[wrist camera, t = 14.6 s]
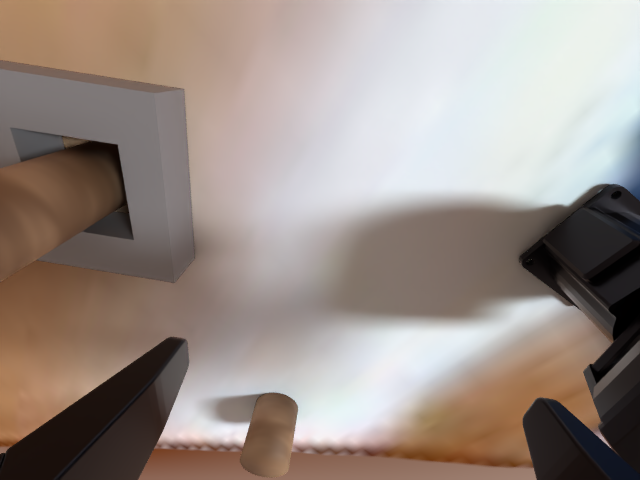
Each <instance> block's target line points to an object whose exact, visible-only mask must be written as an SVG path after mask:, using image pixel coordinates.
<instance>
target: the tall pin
mask: <svg viewBox="0 0 640 480" xmlns="http://www.w3.org/2000/svg"><path fill="white" fill-rule="evenodd" d="M127 203H128V202H127V196H126V190H125V184H124V178H123V172H122V167H121V161H120V155H119V149H118V144H111V143H105V142H99V141H91V142H88V143H84V144H81V145H78V146H74V147H71V148H67V149H64V150H61V151H57V152H54V153H51V154H47V155H44V156H40V157H37V158H34V159H30V160H27V161H24V162H20V163H17V164H13V165H10V166H7V167H3V168H0V282H1V281H3V280H5V279H6V278H8V277H9V276H11V275H13V274H14V273H16V272H17V271H19V270H21V269H22V268H24V267H26V266H27V265H29V264H30V263H32V262H34V261H35V260H37V259H38V258H40V257H42V256H43V255H45V254H46V253H48V252H50V251H51V250H53V249H54V248H56V247H58V246H59V245H61V244H62V243H64V242H66V241H67V240H69V239H71V238H72V237H74V236H75V235H77V234H79V233H80V232H82V231H83V230H85V229H87V228H88V227H90V226H91V225H93V224H95V223H96V222H98V221H99V220H101V219H103V218H104V217H106V216H107V215H109V214H111V213H112V212H114V211H116V210H117V209H119V208H120V207H122V206H124V205H125V204H127Z"/></svg>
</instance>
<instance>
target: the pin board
mask: <svg viewBox="0 0 640 480" xmlns="http://www.w3.org/2000/svg"><path fill="white" fill-rule="evenodd" d="M62 136H67V137H74V138H80V139H86V140H92V141H99V142H105V143H111V144H118V149H119V155H120V161H121V167H122V172H123V178H124V184H125V190H126V196H127V202H128V208H129V214H127V213H121V212H112V213H111V214H109V215H107V216H106V217H104V218H103V219H101V220H99V221H98V222H96V223H95V224H93V225H91V226H90V227H88V228H87V229H85V230H83V231H82V232H80V233H79V234H77V235H75V236H74V237H72V238H71V239H69V240H67V241H66V242H64V243H62V244H61V245H59V246H58V247H56V248H54V249H53V250H51V251H50V252H48V253H46V254H45V255H43V256H42V257H40V258H38V259H37V260H38V261H44V262H50V263H56V264H63V265H69V266H75V267H81V268H87V269H93V270H99V271H105V272H111V273H117V274H123V275H129V276H135V277H141V278H148V279H154V280H160V281H166V282H172V283H175V282H176V280H177V279H178V278H179V277H180V276H181V274H182V273H183V272H184V271H185V269H186V268H187V267H188V266H189V265H190V263H191V262H192V261H193V260H194V258H195V252H194V237H193V221H192V206H191V190H190V175H189V159H188V144H187V128H186V113H185V97H184V89H180V88H174V87H167V86H161V85H155V84H148V83H142V82H136V81H129V80H123V79H117V78H110V77H104V76H98V75H91V74H85V73H79V72H72V71H66V70H59V69H53V68H47V67H40V66H34V65H28V64H21V63H15V62H9V61H2V60H0V168H3V167H7V166H10V165H13V164H17V163H20V162H24V161H27V160H30V159H34V158H37V157H40V156H44V155H47V154H51V153H54V152H57V151H61V150H64V149H65V148H64V144H63V140H62Z"/></svg>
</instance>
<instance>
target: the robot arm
mask: <svg viewBox="0 0 640 480" xmlns="http://www.w3.org/2000/svg"><path fill="white" fill-rule="evenodd" d="M615 191H616V194H615V195H614V196H612V197H611V195H612V193H613V192H615ZM529 259H532V260H531V261H529V262H527V260H529ZM519 262H520V263H521V265H522V266H523V267H524V268H525V269H527V270H528V271H529V272H531V273H532V274H533V275H535V276H536V277H537V278H539V279H540V280H541V281H543V282H544V283H545V284H547V285H548V286H549V287H550V288H552V289H553V290H554V291H556V292H557V293H558V294H560V295H561V296H562V297H564V298H565V299H566V300H568V301H569V302H570V303H572V304H573V305H574V306H576V307H577V308H578V309H580V310H581V311H582V312H583V313H584V314H585V315H586V316H587V317H588V318H589V319H590V320H591V321H592V322H593V323H594V324H595V325H596V327H597V328H598V329H599V330H600V331H601V332H602V333H603V334H604V335H605V336H606V337H607V338H608V339H609V340H610V342H611V343H612V344H611V345H610V346H609V347H608V348H607V349H606V351H605V352H604V353H603V354H602V355H601V356H600V357H599V358H598V359H597V360H596V361H595V362H594V364H589V365H588V367H587V368H586V369H585V370H584V371H583V373H584V376H585V379H586V381H587V384H588V387H589V390H590V392H591V395H592V398H593V401H594V404H595V406H596V409H597V412H598V414H599V417H600V420H601V422H600V423H599V425H598V427H599V430H600V432H601V434H602V436H603V437H604V438H605V440H606V441H607V443H608V444H609V445H610V447H611V448H612V449H611V448H610V447H609V446H608V445H606V444H605V443H604V442H603V441H602V440H601V439H600V438H599V437H598V436H596V435H595V434H594V433H593V432H592V431H591V430H590V429H589V428H587V427H586V426H585V425H584V424H583V423H582V422H581V421H580V420H578V419H577V418H576V417H575V416H574V415H573V414H572V413H571V412H570V411H568V410H567V409H566V408H565V407H564V406H563V405H562V404H561V403H559V402H558V401H556V400H553V399H548V398H541V397H540V398H537V399H536V400H535V401H534V402H533V404H532V405H531V406H530V408H529V409H528V410H527V412H526V413H525V415H524V417H523V428H524V432H525V436H526V440H527V443H528V447H529V451H530V455H531V459H532V463H533V467H534V471H535V474H536V478H537V480H640V201H639V200H638V199H637V198H635V197H634V196H633V195H632V194H631V193H630V192H629V191H628V190H627V189H626V188H624V187H622V186H620V185H617V184H612V185H609V186H607V187H606V188H604V189H603V190H602V191H601V192H599V193H598V194H597V195H596V196H594V197H593V198H592V199H591V200H589V201H588V202H587V203H586V204H584V205H583V206H582V207H581V208H580V209H578V210H577V211H576V212H575V213H573V214H572V215H571V216H570V217H568V218H567V219H566V220H565V221H563V222H562V223H561V224H560V225H558V226H557V227H556V228H555V229H553V230H552V231H551V232H550V233H548V234H547V235H546V236H545V237H543V238H542V239H541V240H540V241H538V242H537V243H536V244H535V245H534V246H532V247H531V248H530V249H529V250H527V251H526V252H525V253H524V254H522V255H521V256H520V258H519ZM188 366H189V354H188V343H187V340H186V339H183V338H177V337H169V338H167V339H166V340H164V341H163V342H161V343H160V344H159V345H157V346H156V347H154V348H153V349H151V350H150V351H148V352H147V353H146V354H144V355H143V356H141V357H140V358H138V359H137V360H136V361H134V362H133V363H131V364H130V365H128V366H127V367H125V368H124V369H123V370H121V371H120V372H118V373H117V374H115V375H114V376H112V377H111V378H110V379H108V380H107V381H105V382H104V383H102V384H101V385H99V386H98V387H97V388H95V389H94V390H92V391H91V392H89V393H88V394H87V395H85V396H84V397H82V398H81V399H79V400H78V401H76V402H75V403H74V404H72V405H71V406H69V407H68V408H66V409H65V410H63V411H62V412H61V413H59V414H58V415H56V416H55V417H53V418H52V419H51V420H49V421H48V422H46V423H45V424H43V425H42V426H40V427H39V428H38V429H36V430H35V431H33V432H32V433H30V434H29V435H27V436H26V437H25V438H23V439H22V440H20V441H19V442H17V443H16V444H14V445H13V446H12V447H10V448H9V449H8V450H7V451H6V453H1V454H0V480H138V479H139V477H140V475H141V473H142V471H143V469H144V467H145V465H146V463H147V461H148V459H149V457H150V455H151V453H152V451H153V450H154V448H155V446H156V444H157V442H158V440H159V438H160V436H161V434H162V432H163V429H164V427H165V425H166V422H167V420H168V417H169V415H170V412H171V410H172V407H173V405H174V402H175V400H176V397H177V395H178V392H179V390H180V387H181V385H182V382H183V380H184V377H185V375H186V372H187V369H188Z"/></svg>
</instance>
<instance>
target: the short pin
mask: <svg viewBox="0 0 640 480" xmlns="http://www.w3.org/2000/svg"><path fill="white" fill-rule="evenodd" d="M297 412H298V406H297V404H296V402H295V401H294V400H293V399H292V398H290V397H288V396H286V395H284V394H280V393H266V394H263V395H261V396H260V397H259V398H258V399H257V401H256V405H255V408H254V412H253V415H252V419H251V422H250V426H249V429H248V433H247V436H246V440H245V443H244V447H243V450H242V454H241V457H240V463H241V465H242V466H243V468H245V470H247V471H248V472H250V473H252V474H255V475H258V476H262V477H279V476H282V475H284V474H285V473H286V472H287V471H288V469H289V463H290V457H291V450H292V444H293V438H294V431H295V425H296V419H297Z"/></svg>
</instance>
